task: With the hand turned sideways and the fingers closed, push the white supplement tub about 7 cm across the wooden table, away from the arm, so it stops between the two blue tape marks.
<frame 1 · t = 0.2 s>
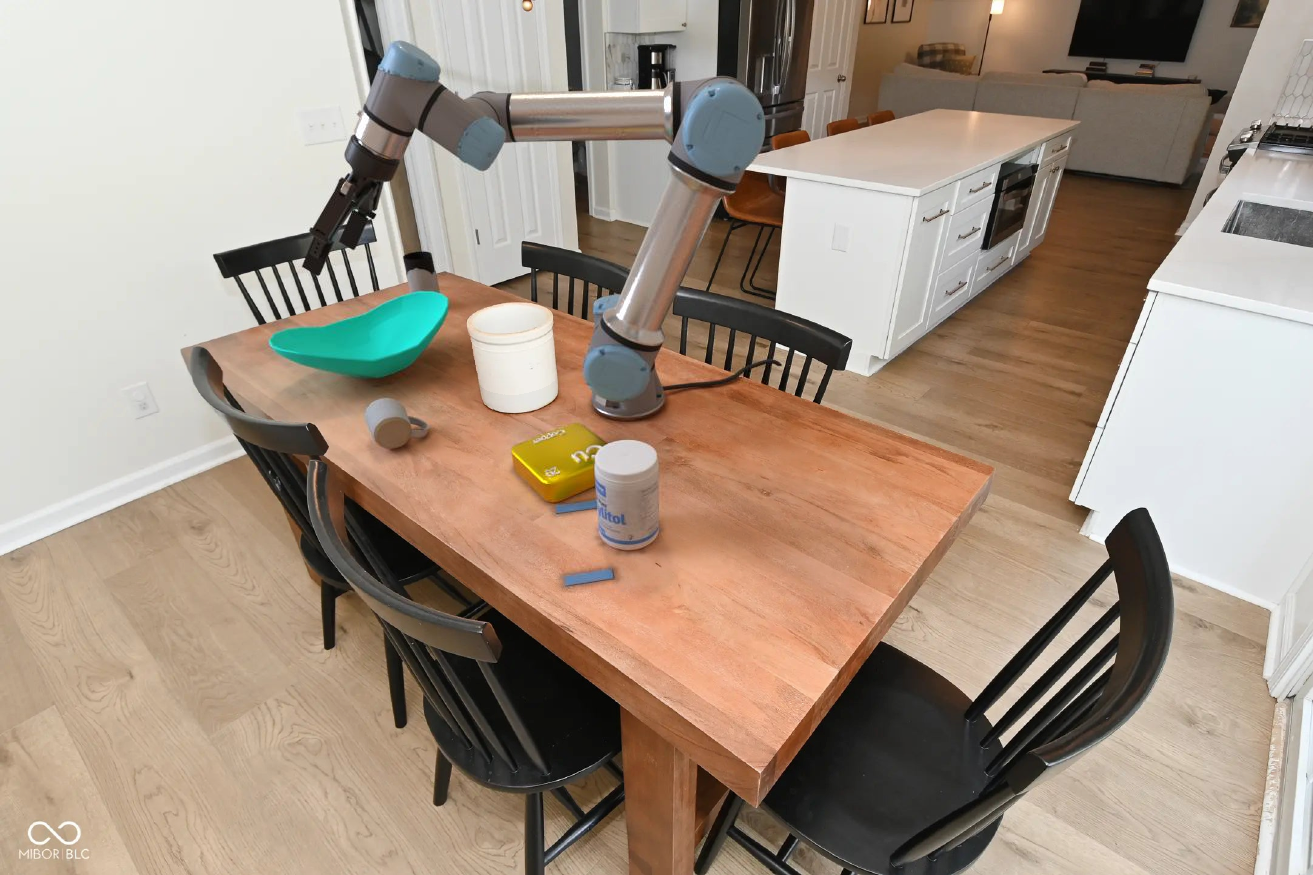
hand: (329, 257, 115), 36 cm above the table, tool tilted 35°, fingers open, 13 cm apart
tape marks: (582, 539, 107), on the table
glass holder: (430, 305, 194), on the table
element tile: (566, 471, 123), on the table
table top decor: (378, 372, 159), on the table
ceramic mug: (400, 438, 134), on the table
supplement tub: (629, 533, 108), on the table
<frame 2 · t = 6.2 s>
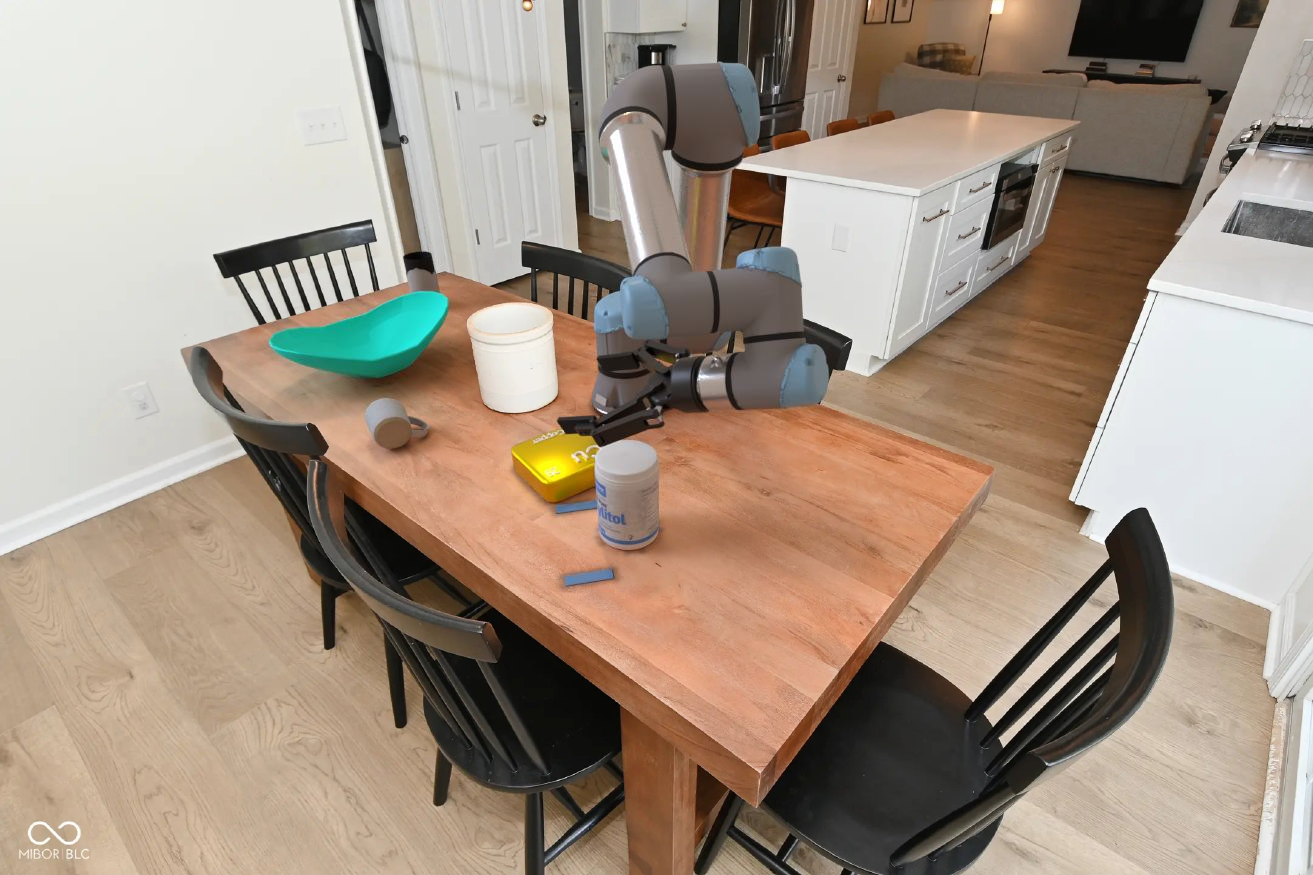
hand: (582, 393, 101), 22 cm above the table, tool tilted 75°, fingers open, 13 cm apart
nothing on the table moved.
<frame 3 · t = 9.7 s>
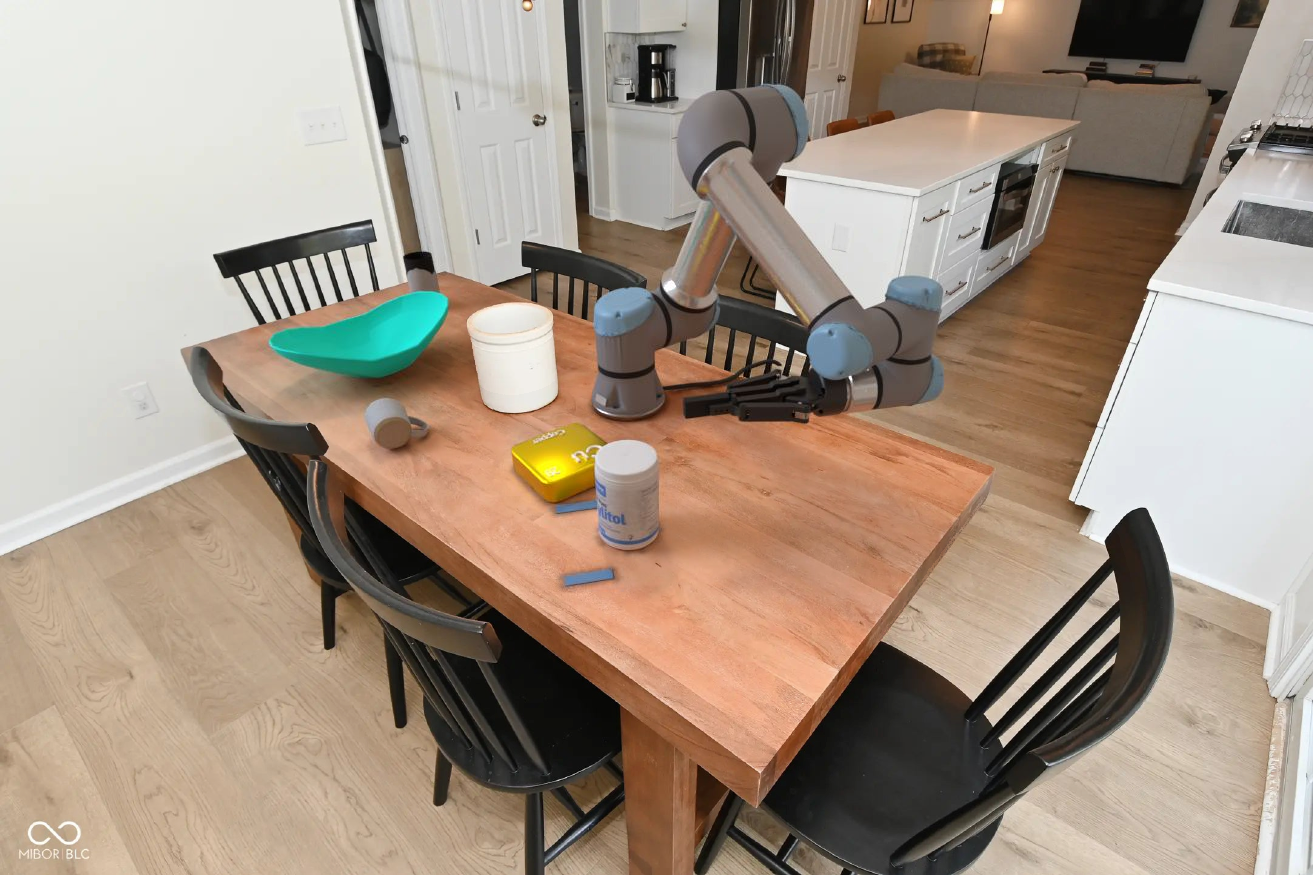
hand: (684, 408, 98), 22 cm above the table, tool horizontal, fingers closed
nothing on the table moved.
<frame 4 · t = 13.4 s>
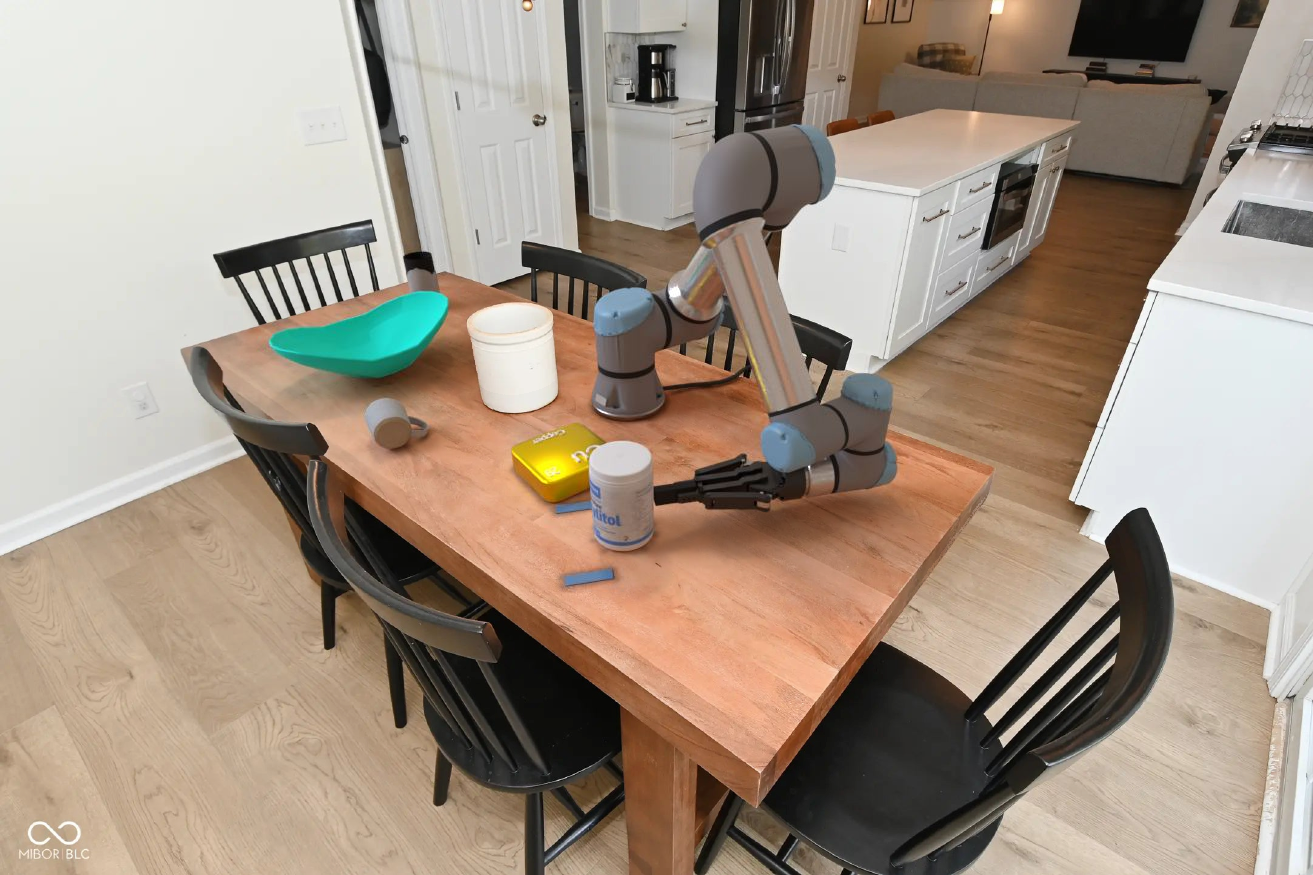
hand: (654, 496, 105), 7 cm above the table, tool horizontal, fingers closed
supplement tub: (624, 534, 108), on the table, touching gripper
everything else where it was.
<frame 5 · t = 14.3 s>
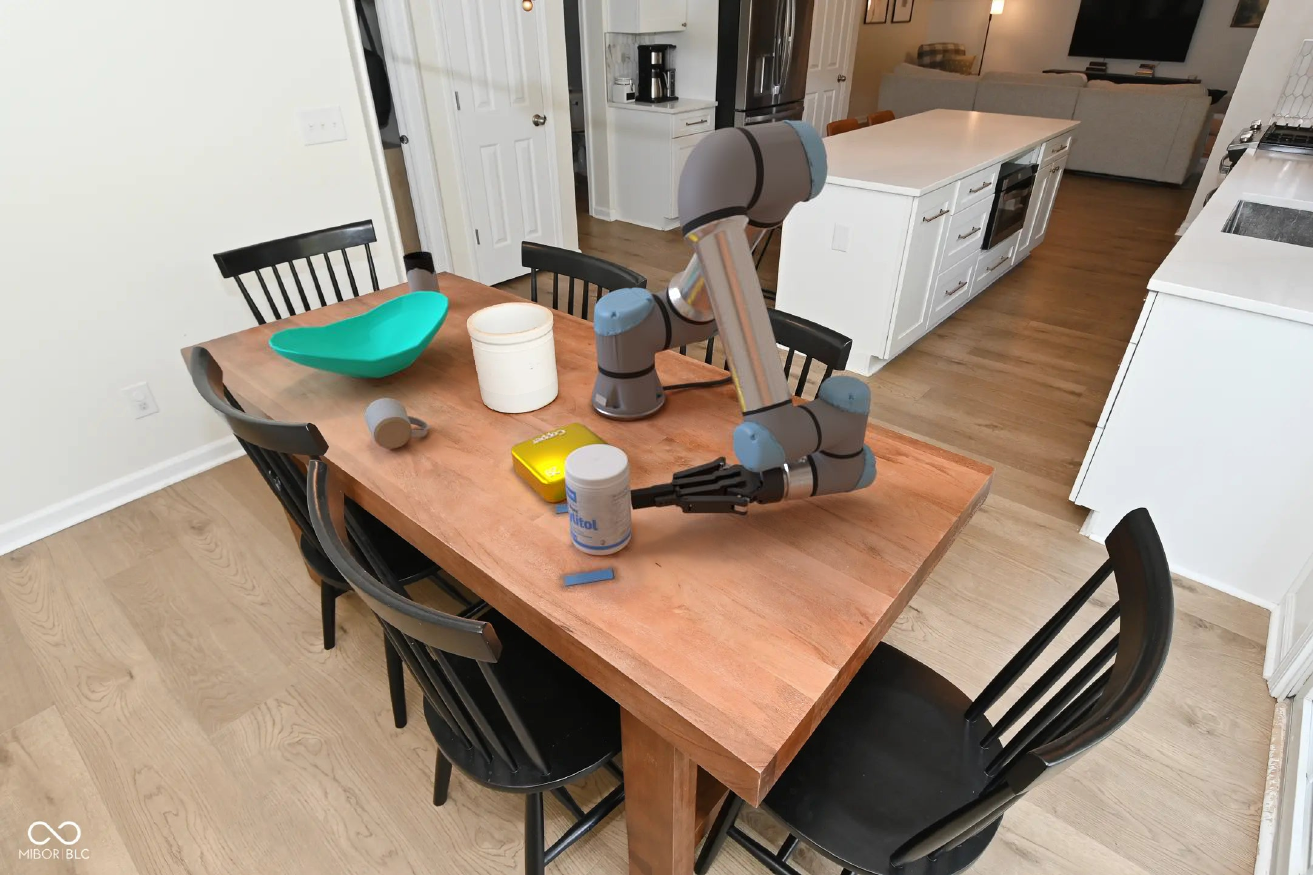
hand: (631, 499, 104), 7 cm above the table, tool horizontal, fingers closed
supplement tub: (602, 538, 107), on the table, touching gripper
everything else where it was.
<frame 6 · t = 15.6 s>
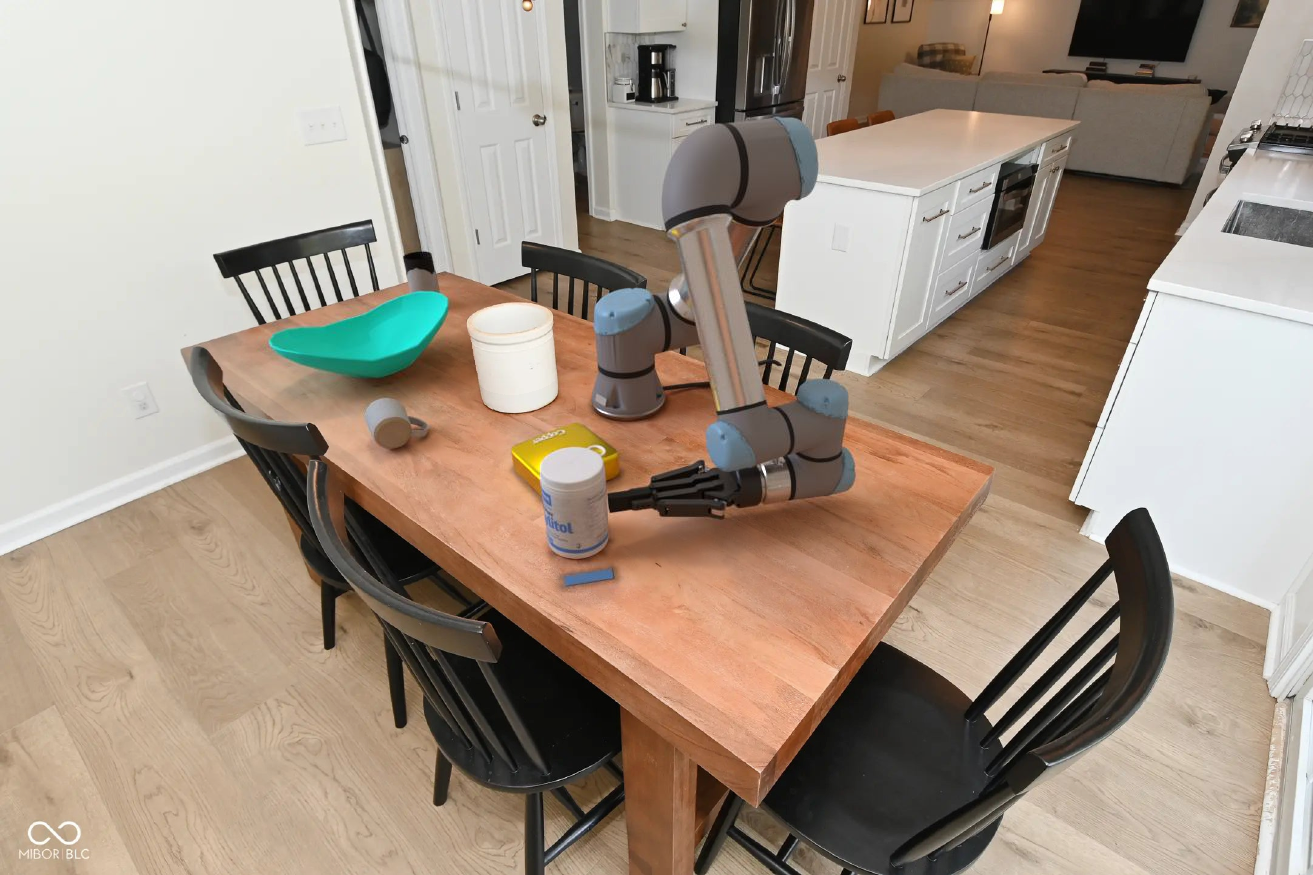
hand: (608, 503, 104), 7 cm above the table, tool horizontal, fingers closed
supplement tub: (579, 541, 107), on the table, touching gripper
everything else where it was.
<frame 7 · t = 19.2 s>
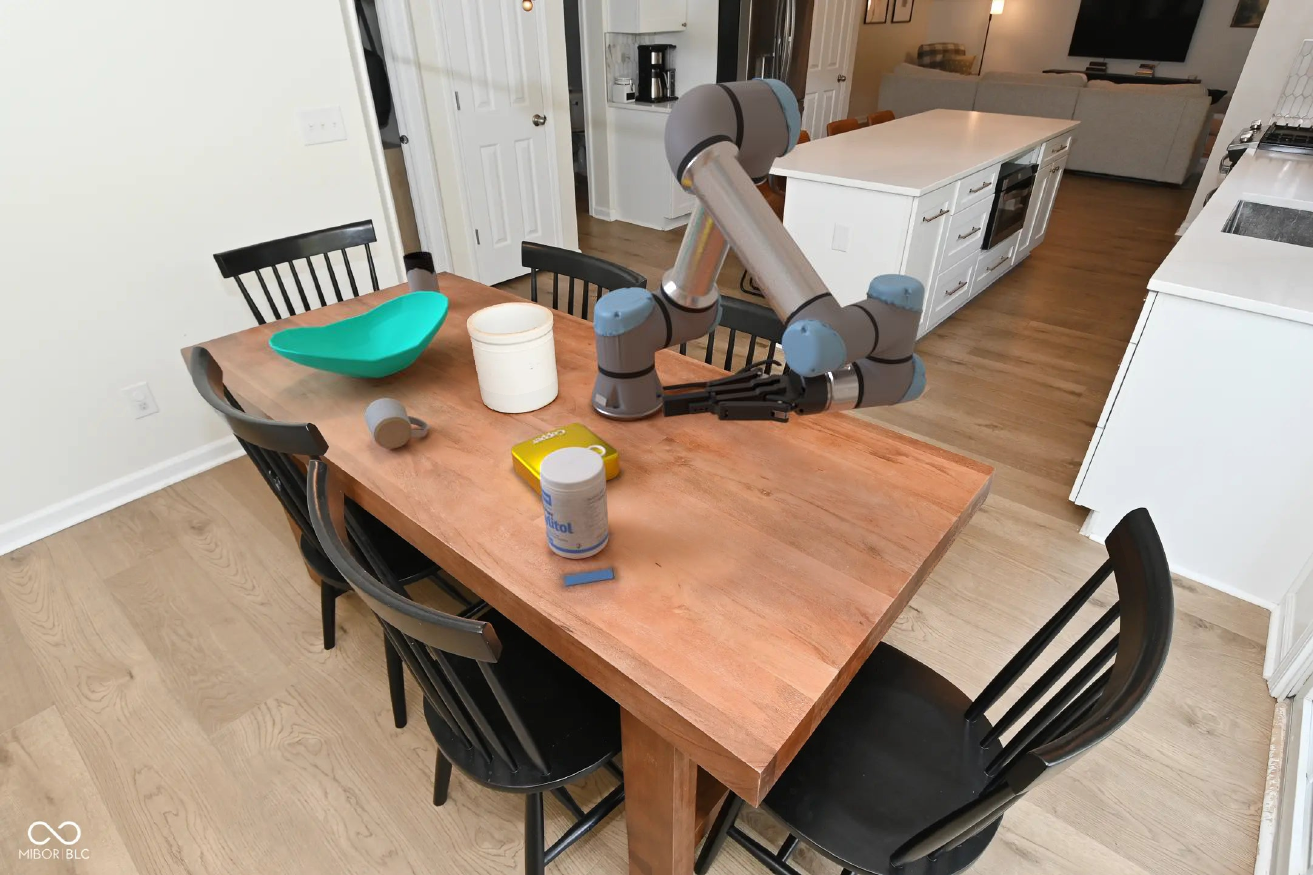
hand: (663, 406, 97), 22 cm above the table, tool horizontal, fingers closed
supplement tub: (579, 541, 107), on the table
everything else where it was.
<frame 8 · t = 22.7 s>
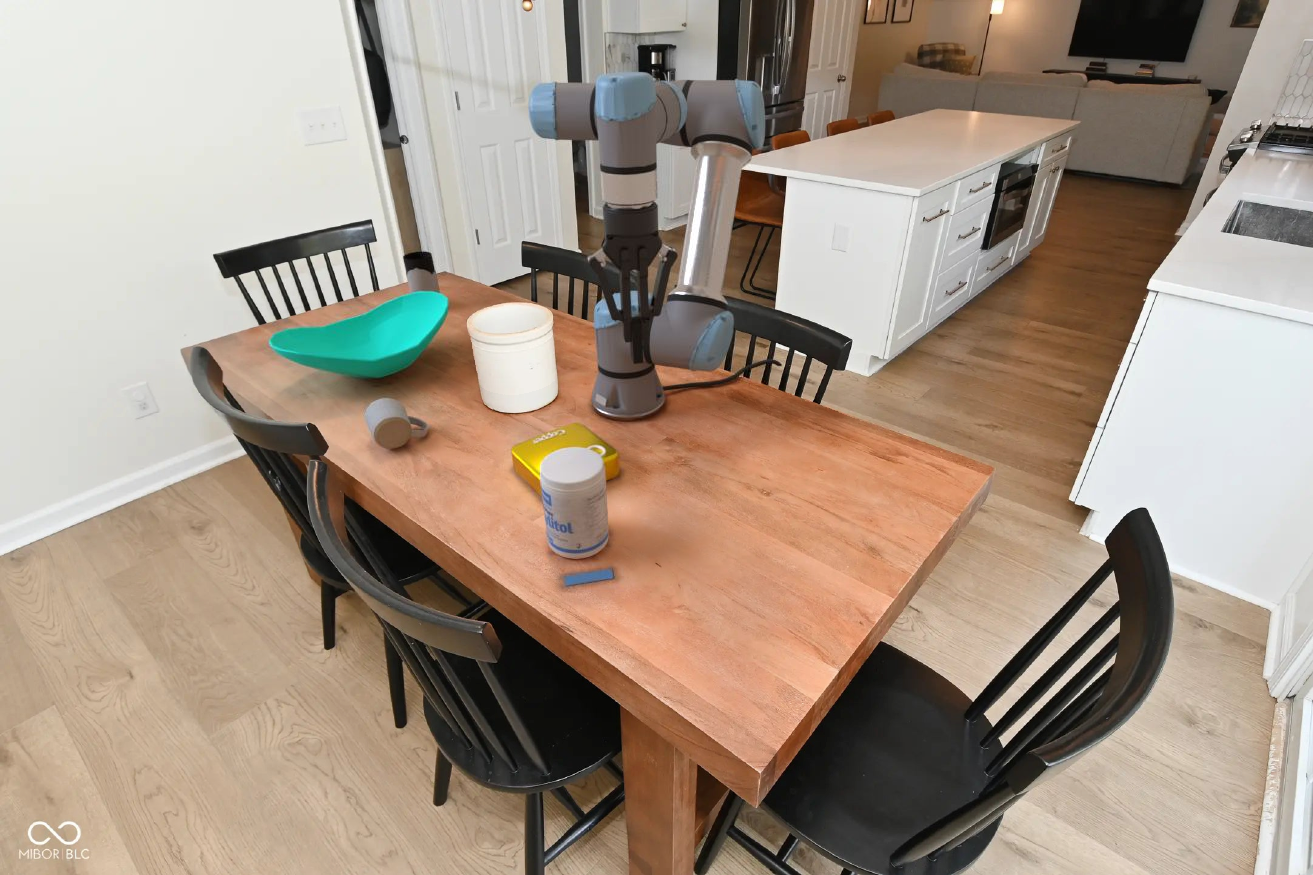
hand: (637, 359, 105), 24 cm above the table, tool pointing down, fingers closed
nothing on the table moved.
at the end: supplement tub moved 8.0 cm from its start; supplement tub inside the target area (0.3 cm from its centre), on the table; supplement tub tilted 0° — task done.
